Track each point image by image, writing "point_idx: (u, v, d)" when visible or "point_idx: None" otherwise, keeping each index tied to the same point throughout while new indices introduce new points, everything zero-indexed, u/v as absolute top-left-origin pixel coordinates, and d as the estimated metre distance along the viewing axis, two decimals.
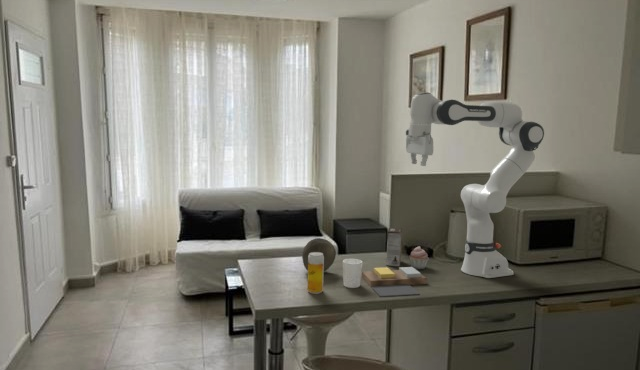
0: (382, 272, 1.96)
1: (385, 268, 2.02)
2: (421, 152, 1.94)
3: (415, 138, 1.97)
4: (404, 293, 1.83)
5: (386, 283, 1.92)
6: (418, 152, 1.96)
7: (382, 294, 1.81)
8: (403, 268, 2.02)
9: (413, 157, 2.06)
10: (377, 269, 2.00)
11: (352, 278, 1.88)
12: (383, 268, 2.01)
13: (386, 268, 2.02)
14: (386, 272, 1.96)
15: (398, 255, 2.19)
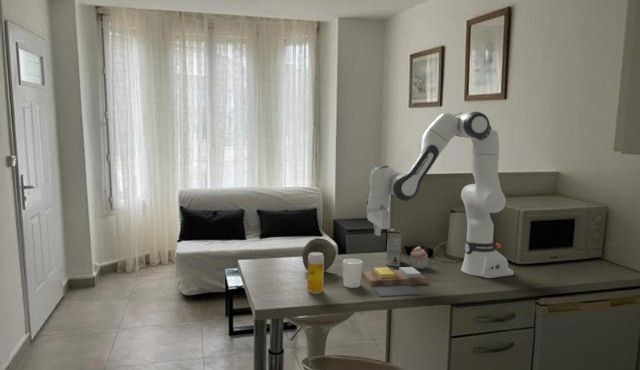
0: (382, 272, 1.96)
1: (385, 268, 2.02)
2: (378, 225, 1.99)
3: (373, 210, 2.02)
4: (404, 293, 1.83)
5: (386, 283, 1.92)
6: (376, 224, 2.02)
7: (382, 294, 1.81)
8: (403, 268, 2.02)
9: (376, 228, 2.07)
10: (377, 269, 2.00)
11: (352, 278, 1.88)
12: (383, 268, 2.01)
13: (386, 268, 2.02)
14: (386, 272, 1.96)
15: (398, 255, 2.19)
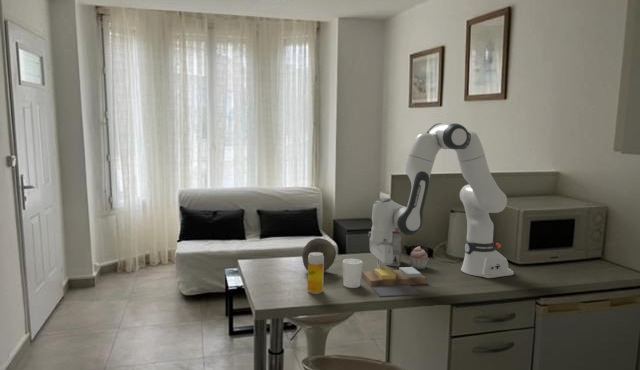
0: (383, 273, 1.95)
1: (386, 269, 2.00)
2: (381, 260, 1.96)
3: (376, 244, 1.99)
4: (404, 293, 1.83)
5: (386, 283, 1.92)
6: (379, 258, 1.99)
7: (382, 294, 1.81)
8: (403, 268, 2.02)
9: (379, 261, 2.04)
10: (378, 270, 1.99)
11: (352, 278, 1.88)
12: (384, 269, 2.00)
13: (387, 269, 2.00)
14: (387, 273, 1.95)
15: (398, 255, 2.19)
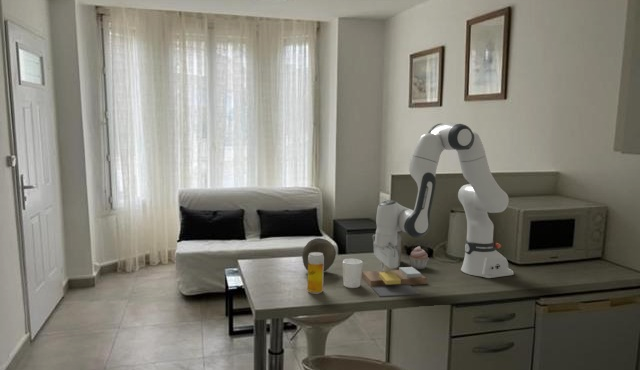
0: (388, 278, 1.89)
1: (391, 273, 1.95)
2: (386, 264, 1.90)
3: (381, 247, 1.94)
4: (404, 293, 1.83)
5: None
6: (383, 262, 1.93)
7: (382, 294, 1.81)
8: (403, 268, 2.02)
9: (383, 265, 1.98)
10: (383, 274, 1.93)
11: (352, 278, 1.88)
12: (389, 273, 1.94)
13: (392, 273, 1.95)
14: (392, 278, 1.89)
15: (398, 255, 2.19)
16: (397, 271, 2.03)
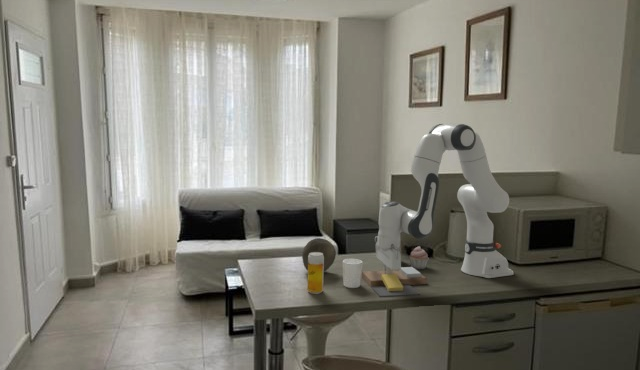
0: (390, 284, 1.86)
1: (393, 276, 1.92)
2: (389, 266, 1.87)
3: (383, 249, 1.91)
4: (404, 293, 1.83)
5: None
6: (386, 264, 1.90)
7: (382, 294, 1.81)
8: (403, 268, 2.02)
9: (386, 267, 1.95)
10: (385, 277, 1.90)
11: (352, 278, 1.88)
12: (391, 276, 1.91)
13: (394, 276, 1.92)
14: (394, 284, 1.87)
15: None
16: (397, 271, 2.03)
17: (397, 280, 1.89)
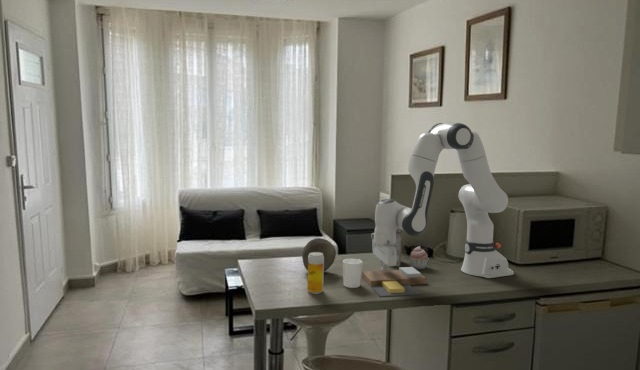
0: (391, 286, 1.85)
1: (394, 282, 1.91)
2: (385, 262, 1.92)
3: (379, 245, 1.96)
4: (404, 293, 1.83)
5: None
6: (382, 260, 1.95)
7: (382, 294, 1.81)
8: (403, 268, 2.02)
9: (382, 263, 2.00)
10: (386, 283, 1.89)
11: (352, 278, 1.88)
12: (392, 282, 1.90)
13: (395, 282, 1.91)
14: (395, 286, 1.85)
15: (398, 255, 2.19)
16: (397, 271, 2.03)
17: (398, 284, 1.88)
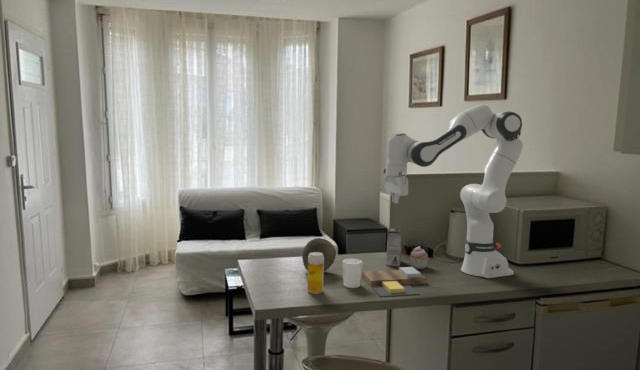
0: (391, 286, 1.85)
1: (394, 282, 1.91)
2: (397, 192, 2.00)
3: (391, 178, 2.04)
4: (404, 293, 1.83)
5: None
6: (394, 191, 2.03)
7: (382, 294, 1.81)
8: (403, 268, 2.02)
9: (394, 196, 2.08)
10: (386, 283, 1.89)
11: (352, 278, 1.88)
12: (392, 282, 1.90)
13: (395, 282, 1.91)
14: (395, 286, 1.85)
15: (398, 255, 2.19)
16: (397, 271, 2.03)
17: (398, 284, 1.88)
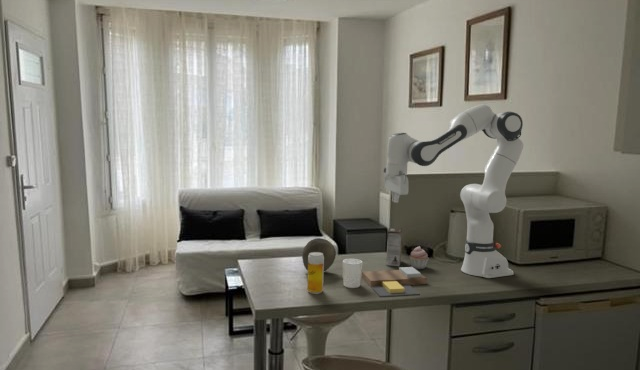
0: (391, 286, 1.85)
1: (394, 282, 1.91)
2: (397, 191, 2.00)
3: (392, 177, 2.04)
4: (404, 293, 1.83)
5: None
6: (394, 191, 2.03)
7: (382, 294, 1.81)
8: (403, 268, 2.02)
9: (394, 195, 2.08)
10: (386, 283, 1.89)
11: (352, 278, 1.88)
12: (392, 282, 1.90)
13: (395, 282, 1.91)
14: (395, 286, 1.85)
15: (398, 255, 2.19)
16: (397, 271, 2.03)
17: (398, 284, 1.88)
